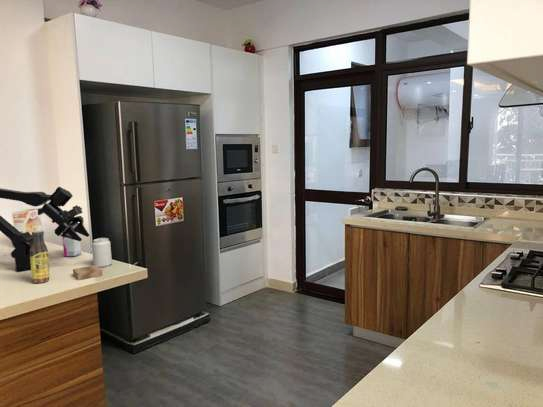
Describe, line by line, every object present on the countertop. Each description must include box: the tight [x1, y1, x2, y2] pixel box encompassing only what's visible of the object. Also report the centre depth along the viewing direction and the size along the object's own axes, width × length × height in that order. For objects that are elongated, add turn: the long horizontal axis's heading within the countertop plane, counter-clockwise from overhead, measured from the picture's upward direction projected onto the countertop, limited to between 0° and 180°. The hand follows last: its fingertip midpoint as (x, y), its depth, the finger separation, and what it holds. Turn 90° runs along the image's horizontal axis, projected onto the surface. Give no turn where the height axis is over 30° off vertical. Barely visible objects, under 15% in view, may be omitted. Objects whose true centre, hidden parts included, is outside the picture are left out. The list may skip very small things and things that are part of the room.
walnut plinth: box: [72, 264, 103, 281], centre depth 171 cm, size 9×9×2 cm
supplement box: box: [61, 232, 82, 258], centre depth 205 cm, size 6×6×12 cm
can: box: [91, 237, 113, 269], centre depth 184 cm, size 8×8×12 cm
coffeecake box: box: [11, 208, 43, 235], centre depth 230 cm, size 15×7×20 cm, turn 179°
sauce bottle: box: [30, 230, 50, 284], centre depth 163 cm, size 7×6×20 cm
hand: (85, 238), depth 183 cm, fingers open, 9 cm apart
